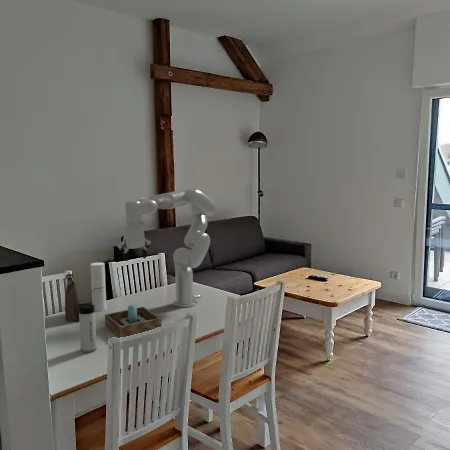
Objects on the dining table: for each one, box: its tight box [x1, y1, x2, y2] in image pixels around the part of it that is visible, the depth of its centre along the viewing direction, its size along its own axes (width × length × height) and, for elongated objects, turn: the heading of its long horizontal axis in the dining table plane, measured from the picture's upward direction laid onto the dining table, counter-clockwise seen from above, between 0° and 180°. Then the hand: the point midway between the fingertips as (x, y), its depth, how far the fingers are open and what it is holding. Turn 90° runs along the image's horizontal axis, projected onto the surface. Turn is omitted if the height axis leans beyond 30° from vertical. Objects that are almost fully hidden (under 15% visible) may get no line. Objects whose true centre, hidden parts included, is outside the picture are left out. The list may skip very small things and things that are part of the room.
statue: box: [64, 271, 80, 323], centre depth 219 cm, size 9×8×25 cm
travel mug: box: [78, 302, 97, 354], centre depth 183 cm, size 6×7×20 cm
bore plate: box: [118, 315, 146, 326], centre depth 208 cm, size 10×10×3 cm
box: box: [104, 306, 162, 339], centre depth 208 cm, size 20×20×6 cm
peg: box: [127, 304, 138, 323], centre depth 208 cm, size 4×4×10 cm
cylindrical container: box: [90, 261, 107, 313], centre depth 234 cm, size 7×7×25 cm
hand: (135, 259), depth 220 cm, fingers open, 9 cm apart
